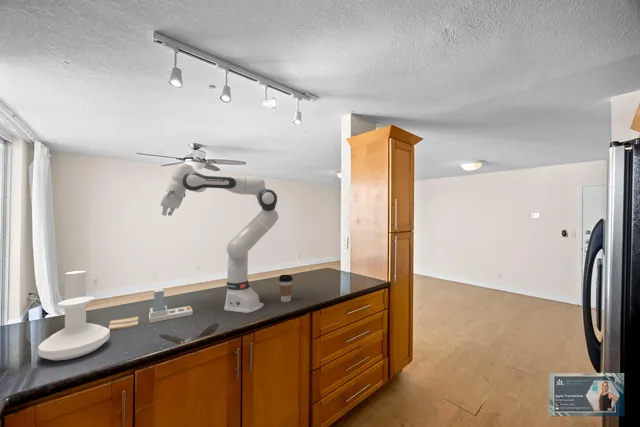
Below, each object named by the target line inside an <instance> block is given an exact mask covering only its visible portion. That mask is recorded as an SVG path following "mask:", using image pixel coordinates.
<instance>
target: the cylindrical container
mask: <svg viewBox="0 0 640 427" xmlns="http://www.w3.org/2000/svg"><path fill="white" fill-rule="evenodd" d="M64 277H65V282H64V284H65V285H64V286H65V289H64V292H65V293H64V297H65V298H64V300H68V299H72V298H78V297H87V271H86V270H75V271H69V272H67V271H66V272H65V276H64ZM66 317H67V308H65V307H64V328H65V327H66Z"/></svg>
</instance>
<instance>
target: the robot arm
mask: <svg viewBox="0 0 640 427" xmlns="http://www.w3.org/2000/svg"><path fill="white" fill-rule="evenodd" d="M207 189H223V190H227V191H228V192H231V193H233V194H238V195H252V196H255V198H256V199H257V202H258V205H259V206H260V207H261V210H260V212H259V213H258V214H257V215H256V216H255V217H254V218H253V219H252V220H251V221H250V222H249V223H248V224H246V225H245V227H244V228H243V229H242V230H240V232H239V233H238V234H236V236H234V237H233V238H232V239H231V240H230V241H229V242H228V244H227V246H226V253H227V254H228V261H227V280H226V290H227V291H226V297H225V302H224V306H223V307H224V308H223V310H224V311H227V312H237V313H244V314H245V313H246V314H247V313H253V312H256V311H258V310H260V309H262V308H263V307H264V306H265V305H264V303H263V302H261V301H260V297H259V295H258V293H257V292H255V290H254V289H253V288H251V286H250V285H251V284H252V282H250V280H248V275H249V274H248V272H249V271H248V268H249V266H248V265H249V252H250V251H251V249H252V248H253V247H254V246H255V245H256V244H257V242H259V241H260V240H261V239H262V238H263V237H264V235H266V233H268V232H269V231H270V230H271V229H272V228H273V226H274V225H275V224H276V223H277V221H278V220H279V213H278V211H277V210H276V206H277V203H278V195H277V193H276V192H275V191H274V190H272V189H270V188H266V182H265V180H264V179H263V178H262V177H260V176H259V177H258V176H253V175H240V174H239V175H232V176H215V175H214V176H213V175H203V174H201V173H199V172H198V171H197V170H196V169H195V168H194V166H192V165H190V164H187V163H179V164H177V165H176V167H175V169H174V171H173V173H172V176H171V180H170V181H169V183H168V185H167V188H166V190H165V194H164V195H163V197H162V199H161V202H160V206H161V207H163V208H162V211H161V215H162V216H166V217H167V215H168V216H169V217H170V216H172V215H173V213H174V212H175V210H176V209H177V210H179V209H178V208H180V206H181V204H182V202H183V199H184V198H185V197H186V191H187V190H188V191H192V192H195V193H202V192H204V191H206V190H207ZM168 210H169V211H168Z"/></svg>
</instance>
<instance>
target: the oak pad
mask: <svg viewBox="0 0 640 427" xmlns="http://www.w3.org/2000/svg"><path fill="white" fill-rule="evenodd" d="M108 325H109V326H108V329H110V332H113V331H118V330H123V329H129V328H134V327H138V326H139V315H138V316H132V317H127V318H125V317H124V318H119V319H114V320H110V322H109V324H108Z"/></svg>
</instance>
